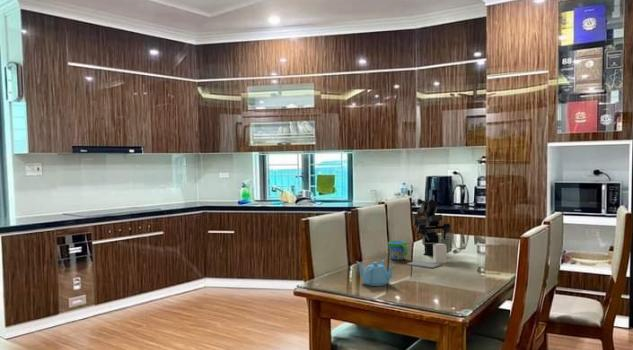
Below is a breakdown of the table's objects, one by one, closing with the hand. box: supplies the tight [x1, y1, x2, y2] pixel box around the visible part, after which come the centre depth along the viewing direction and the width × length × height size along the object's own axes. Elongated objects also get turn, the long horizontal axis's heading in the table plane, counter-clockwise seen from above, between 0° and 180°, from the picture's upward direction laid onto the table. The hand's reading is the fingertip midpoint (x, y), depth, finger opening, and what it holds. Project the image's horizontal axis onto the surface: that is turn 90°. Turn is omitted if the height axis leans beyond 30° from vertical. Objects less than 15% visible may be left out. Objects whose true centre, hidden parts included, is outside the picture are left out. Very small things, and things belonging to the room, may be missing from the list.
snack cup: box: [387, 240, 408, 261], centre depth 271 cm, size 16×10×10 cm
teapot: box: [355, 258, 395, 287], centre depth 218 cm, size 15×15×10 cm
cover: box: [432, 242, 448, 264], centre depth 260 cm, size 6×6×10 cm
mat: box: [406, 260, 443, 269], centre depth 253 cm, size 16×10×1 cm, turn 46°
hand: (436, 239), depth 265 cm, fingers open, 9 cm apart
